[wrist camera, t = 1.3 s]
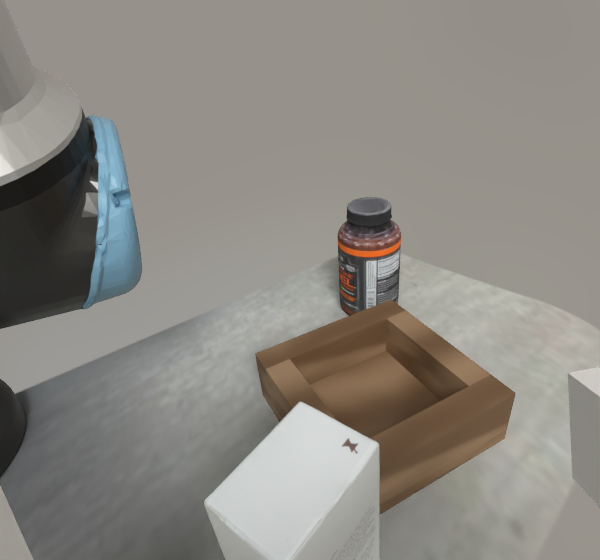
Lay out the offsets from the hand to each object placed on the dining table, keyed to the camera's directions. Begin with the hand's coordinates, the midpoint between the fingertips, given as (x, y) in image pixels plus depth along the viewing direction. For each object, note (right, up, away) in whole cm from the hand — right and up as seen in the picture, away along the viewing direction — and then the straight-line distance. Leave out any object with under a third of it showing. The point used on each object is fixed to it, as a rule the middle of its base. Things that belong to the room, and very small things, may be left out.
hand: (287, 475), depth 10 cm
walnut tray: (+6, -6, +23) cm, 25 cm away
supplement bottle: (+8, +2, +36) cm, 36 cm away
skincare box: (+1, -13, +13) cm, 19 cm away
